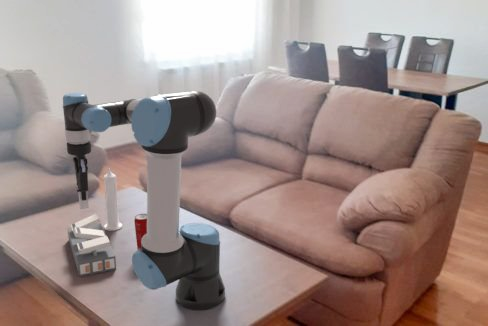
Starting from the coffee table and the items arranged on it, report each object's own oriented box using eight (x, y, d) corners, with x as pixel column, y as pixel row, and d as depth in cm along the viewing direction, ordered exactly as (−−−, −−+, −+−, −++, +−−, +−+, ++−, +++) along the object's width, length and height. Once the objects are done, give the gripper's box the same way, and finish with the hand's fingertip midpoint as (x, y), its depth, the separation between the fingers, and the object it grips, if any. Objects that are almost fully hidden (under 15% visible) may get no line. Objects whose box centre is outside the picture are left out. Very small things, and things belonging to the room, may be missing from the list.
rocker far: (100, 222, 181) (98, 218, 180) (74, 234, 178) (72, 230, 177) (98, 216, 185) (96, 212, 184) (72, 228, 182) (70, 224, 181)
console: (116, 270, 166) (115, 252, 164) (79, 277, 161) (77, 259, 159) (101, 234, 190) (100, 219, 188) (68, 240, 185) (67, 224, 183)
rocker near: (110, 246, 166) (109, 241, 165) (79, 254, 162) (78, 249, 161) (107, 239, 170) (106, 235, 169) (77, 247, 166) (76, 243, 165)
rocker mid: (104, 240, 174) (105, 235, 173) (75, 237, 169) (76, 232, 169) (101, 234, 178) (102, 230, 178) (73, 231, 173) (74, 226, 173)
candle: (126, 226, 198) (122, 167, 190) (112, 232, 192) (108, 172, 184) (113, 221, 201) (109, 163, 194) (100, 228, 196) (95, 168, 188)
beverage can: (150, 259, 173) (149, 220, 168) (133, 257, 174) (131, 218, 169) (157, 251, 178) (155, 213, 174) (140, 249, 179) (138, 211, 175)
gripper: (94, 145, 156) (99, 213, 164) (87, 135, 167) (92, 199, 175) (69, 147, 153) (75, 217, 161) (63, 137, 164) (69, 202, 172)
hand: (84, 207), depth 168 cm, fingers closed
